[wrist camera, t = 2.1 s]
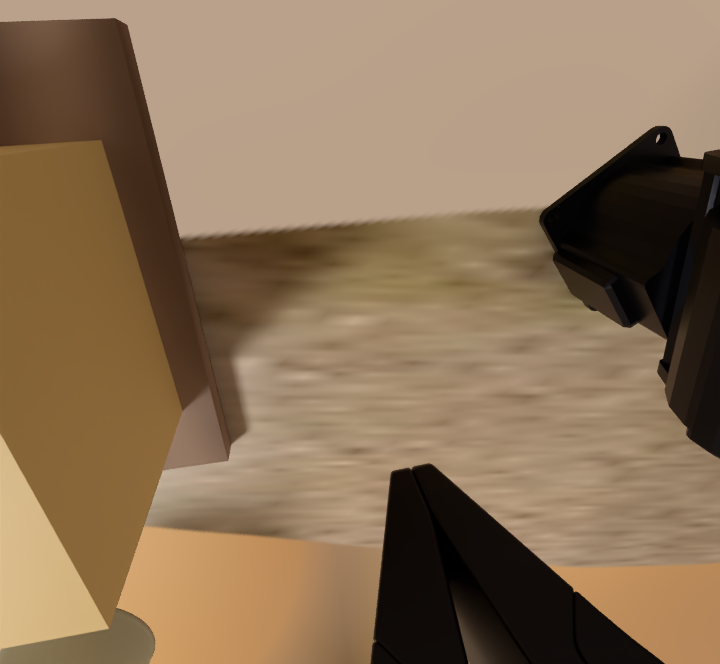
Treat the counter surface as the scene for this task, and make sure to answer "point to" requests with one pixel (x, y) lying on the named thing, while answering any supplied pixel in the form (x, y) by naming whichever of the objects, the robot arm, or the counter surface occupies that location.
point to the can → (91, 646)
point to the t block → (73, 393)
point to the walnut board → (117, 187)
